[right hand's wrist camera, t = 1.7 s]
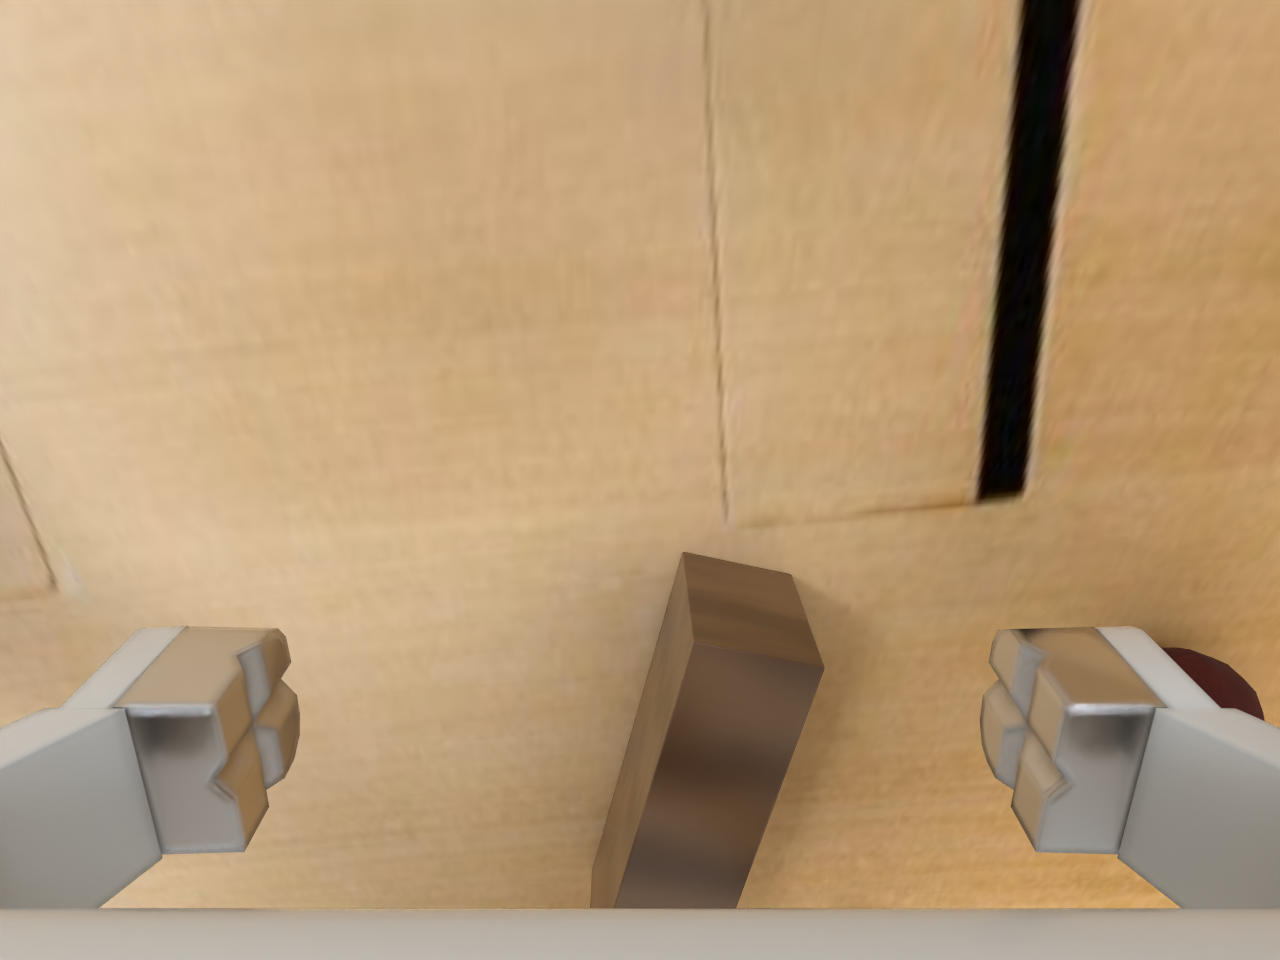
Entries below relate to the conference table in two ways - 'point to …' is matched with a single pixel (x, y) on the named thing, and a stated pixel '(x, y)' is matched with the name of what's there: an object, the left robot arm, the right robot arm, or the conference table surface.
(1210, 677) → the potato
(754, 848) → the box
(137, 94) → the conference table surface
